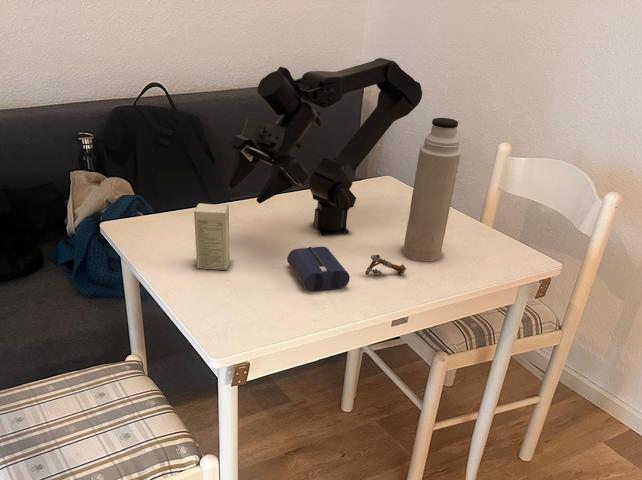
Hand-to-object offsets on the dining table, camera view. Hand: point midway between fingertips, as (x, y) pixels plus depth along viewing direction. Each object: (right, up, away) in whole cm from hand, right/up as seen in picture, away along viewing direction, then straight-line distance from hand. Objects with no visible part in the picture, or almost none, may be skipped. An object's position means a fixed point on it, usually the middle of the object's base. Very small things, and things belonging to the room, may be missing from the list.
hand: (243, 194), depth 133 cm
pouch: (+15, -16, +1) cm, 22 cm away
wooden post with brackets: (+29, -16, +3) cm, 33 cm away
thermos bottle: (+38, -10, +12) cm, 41 cm away
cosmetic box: (-6, -14, +3) cm, 15 cm away
